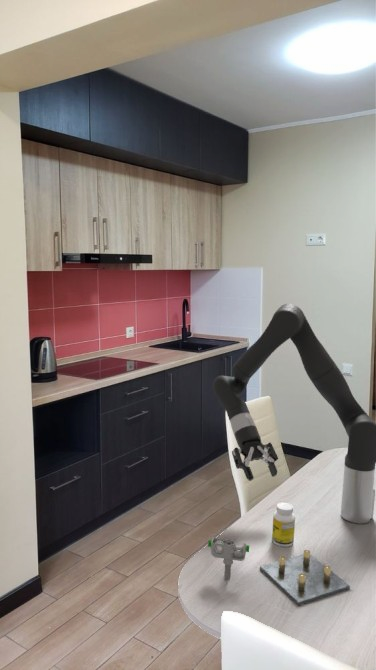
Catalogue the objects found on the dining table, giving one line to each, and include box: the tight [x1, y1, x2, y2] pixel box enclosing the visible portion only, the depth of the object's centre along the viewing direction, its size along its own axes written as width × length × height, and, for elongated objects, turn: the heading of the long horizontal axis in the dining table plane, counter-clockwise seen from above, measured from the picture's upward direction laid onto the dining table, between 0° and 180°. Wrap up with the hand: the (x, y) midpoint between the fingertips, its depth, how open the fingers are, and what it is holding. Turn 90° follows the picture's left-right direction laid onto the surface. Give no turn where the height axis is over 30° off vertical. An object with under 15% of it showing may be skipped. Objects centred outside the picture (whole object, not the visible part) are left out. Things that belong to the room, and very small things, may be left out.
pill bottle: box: [271, 502, 296, 548], centre depth 151 cm, size 6×6×11 cm
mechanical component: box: [207, 536, 250, 582], centre depth 132 cm, size 3×10×10 cm, turn 78°
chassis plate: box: [259, 549, 351, 607], centre depth 134 cm, size 16×16×4 cm
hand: (263, 477), depth 159 cm, fingers open, 8 cm apart
